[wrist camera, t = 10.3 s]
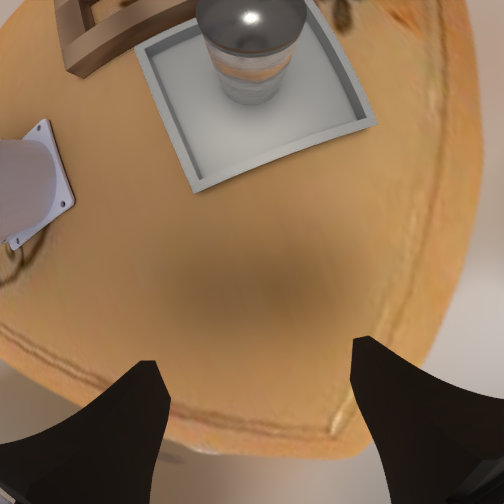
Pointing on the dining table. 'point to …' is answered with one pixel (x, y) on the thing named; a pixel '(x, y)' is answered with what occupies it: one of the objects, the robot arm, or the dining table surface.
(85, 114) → the dining table surface
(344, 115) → the tray
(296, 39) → the steel pin
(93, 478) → the robot arm
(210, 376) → the dining table surface
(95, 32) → the eye block
